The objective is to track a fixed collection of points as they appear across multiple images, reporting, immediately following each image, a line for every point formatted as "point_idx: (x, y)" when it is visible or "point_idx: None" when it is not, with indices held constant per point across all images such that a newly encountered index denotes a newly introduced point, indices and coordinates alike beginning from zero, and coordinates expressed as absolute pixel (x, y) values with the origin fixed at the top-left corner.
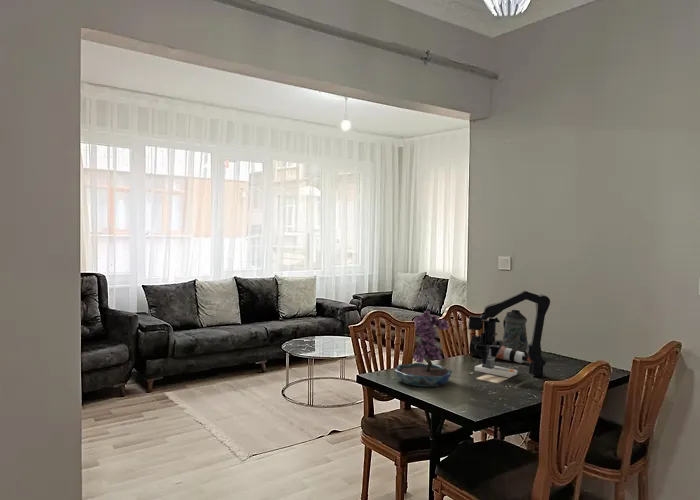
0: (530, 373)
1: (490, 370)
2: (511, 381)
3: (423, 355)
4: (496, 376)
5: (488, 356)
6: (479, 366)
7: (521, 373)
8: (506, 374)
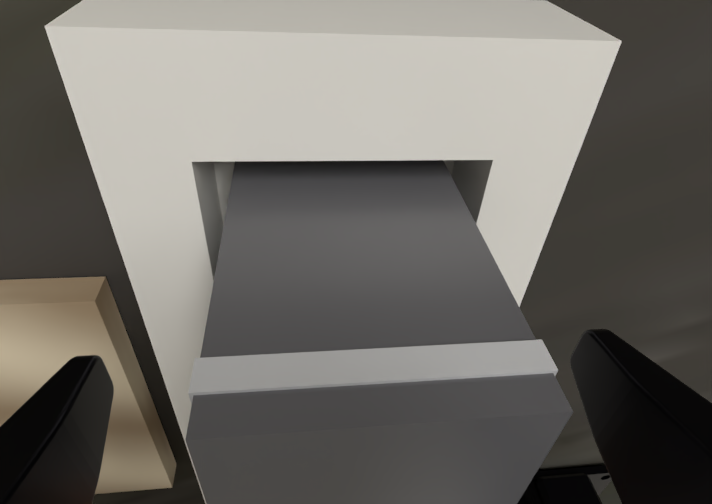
0: (529, 494)
1: (165, 366)
2: (184, 479)
3: None
4: (124, 411)
5: (405, 499)
6: (193, 133)
7: (575, 417)
8: None
